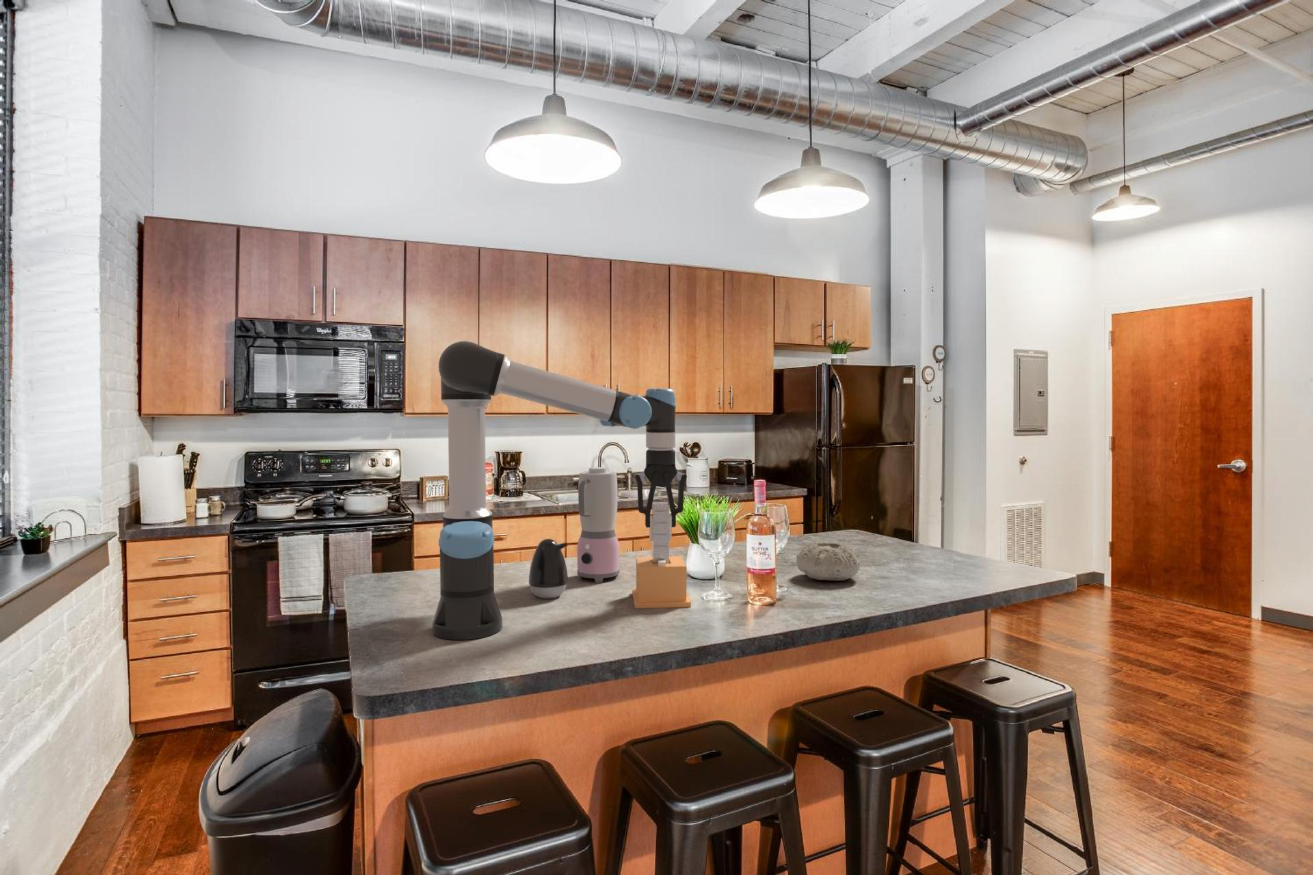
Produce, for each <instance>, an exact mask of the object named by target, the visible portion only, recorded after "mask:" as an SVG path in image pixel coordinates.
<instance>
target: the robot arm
mask: <svg viewBox="0 0 1313 875" xmlns="http://www.w3.org/2000/svg"><path fill="white" fill-rule="evenodd" d="M438 373H439V376H440V399H441V400H440V402H442V403H443V404H444V405H445V406H446V408H447V436H448V439H447V442H448V443H447V444H448V445H447V446H448V505H449V506H448V509H447V510H445V512H444V513H443V514H442V528H441V530H440V533H439V538H438V547H439V584H440V589H439V590H440V591H439V592H440V594H439V595H440V596H439V601H438V605H437V607H436V611H435V613H434V617H433V619H432V634H433V635H434V636H435V637H437V638H441V639H444V640H457V641H458V640H459V641H461V640H462V641H463V640H465V641H466V640H473V639H481V638H485V637H488V636H491V635H494V634H497V633H498V632H500V631H501V630H502V629H503V616H502V613H501V610H500V607H499V605H498V601H497V597H496V596H495V570H494V569H495V568H494V567H495V564H494V562H495V560H494V558H495V557H494V554H495V553H494V551H495V549H494V544H495V536H494V529H493V512H492V511H491V510H490V509H489V508H488V507H487V498H486V497H487V491H486V489H487V487H486V486H487V485H486V483H487V482H486V481H487V480H486V479H487V476H486V474H487V473H486V407H487V406H488V405H489V404H491V402H492V397H496V396H498V395H499V394H504V395H506V396H511V397H513V398H518V399H521V400H526V401H530V402H533V403H537V404H540V405H545V406H548V407H552V408H555V409H560V410H563V411H567V412H569V413H570V412H571V413H575V414H579V415H582V416H585V417H590V418H594V419H597V420H598V421H599V423H600V425H601V426H602V427H603V426H604V427H611V428H613V427H626V428H629V429H632V430H635V429H640V428H642V427H645V447H646V448H647V450H645V468H644V470H643V471H642V472H640V473H639V472H638V473H635V474H634V478H635V480H636V485H637V487H636V488H637V511H638V512H639V513H640V514H643V515H644V516H645V519H644V524H645V528H648V529H649V542H652V541H653V514H652V503H653V502H654V498H655V493H656V488H657V487H659V486H664V487H665V491H666V495H667V497H666V498H667V499H668V500H667V502H668V504H669V512H670V513H669V542H671V541H672V538H673V537H672V536H673V534H672V533H673V532H672V529H673V528H676V526H677V515H678V514H679V513H683V512H684V498H685V497H684V496H685V495H684V494H685V483H686V480H687V477H688V476H687V474H685V473H682V472H680V471H678V469H677V467H676V451H675V449H674V448H676V410H677V409H676V408H677V405H676V392H675V390H674V389H672V388H647V389H646V390H645V394H644V395H642V396H641V395H638V394H629V393H627V392H623V391H620V390H619V391H618V390H615V389H612V388H609V387H605V386H602V385H598V384H594V383H591V382H586V381H583V380H580V379H576V378H573V377H569V376H567V375H566V376H565V375H562V374H560V373H559V374H558V373H555V372H553V371H547V370H545V369H541V368H537V367H534V366H530V365H527V364H524V363H520V362H517V361H516V362H515V361H512V360H509V358H508V356H507V355H506V354H505V353H501V352H497V351H495V350H491V349H488V348H487V347H484V346H482V345H479V344H477V343H475V342H472V341H467V340H462V341H456V342H454V343H451V344H450V345H448V346H447V347H446V348H445V349H443V351H442V353H441V355H440V357H439V360H438ZM645 477H646V478H647V480H649V482H650V487H649V490H648V491H649V492H648V495H647V496H648V497H647V500H646V501H647V502H646V506H645V507H644V498H643V497H644V492H643V489H644V488H643V487H644V486H643V481H644V480H645ZM675 477H676V479H677V481H678V484H677V485H678V486H677V487H678V488H677V507H675V506H676V505H675V501H674V495H673V490H672V486H671V485H672V484H671V483H672V481H673V480H674V478H675Z"/></svg>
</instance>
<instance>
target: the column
mask: <svg viewBox="0 0 1313 875" xmlns="http://www.w3.org/2000/svg"><path fill="white" fill-rule="evenodd" d="M651 514H653V541H651V544H652V546H651V548H652V549H651V553H652V556H651V557H652V564H658V560H665V561H666V564H669V556H670V541H669V514H670V506H669V501H653V503H652V508H651Z"/></svg>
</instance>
